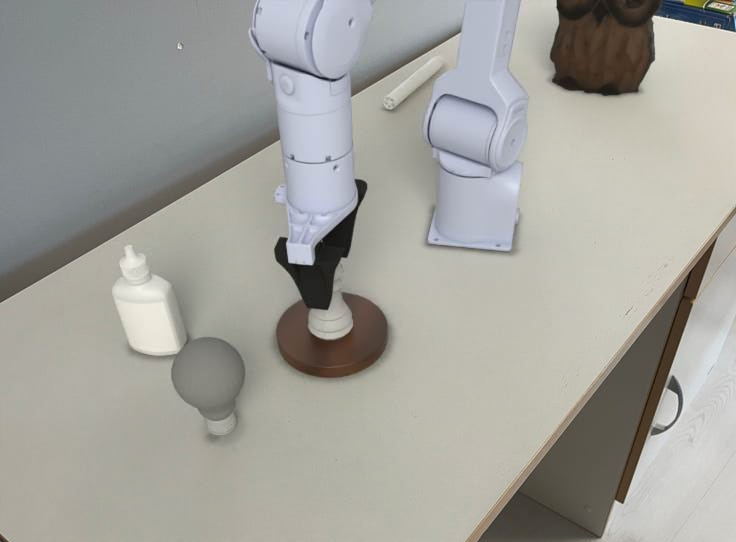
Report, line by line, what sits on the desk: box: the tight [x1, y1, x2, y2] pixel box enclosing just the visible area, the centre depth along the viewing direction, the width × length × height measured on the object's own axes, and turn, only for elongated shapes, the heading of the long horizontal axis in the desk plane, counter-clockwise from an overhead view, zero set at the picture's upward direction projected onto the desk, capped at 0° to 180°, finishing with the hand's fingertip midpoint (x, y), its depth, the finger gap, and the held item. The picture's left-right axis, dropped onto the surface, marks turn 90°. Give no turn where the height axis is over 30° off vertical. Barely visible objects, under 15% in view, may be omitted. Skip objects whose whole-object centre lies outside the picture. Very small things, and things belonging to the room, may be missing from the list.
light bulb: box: [170, 336, 246, 436], centre depth 60 cm, size 6×6×10 cm
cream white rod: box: [382, 55, 445, 110], centre depth 110 cm, size 18×2×2 cm, turn 149°
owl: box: [549, 0, 663, 97], centre depth 103 cm, size 13×13×20 cm
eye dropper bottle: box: [111, 244, 188, 357], centre depth 68 cm, size 4×6×12 cm
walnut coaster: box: [275, 291, 389, 379], centre depth 71 cm, size 11×11×2 cm
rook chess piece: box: [308, 262, 353, 340], centre depth 68 cm, size 4×4×8 cm
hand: (328, 279), depth 66 cm, fingers open, 7 cm apart
